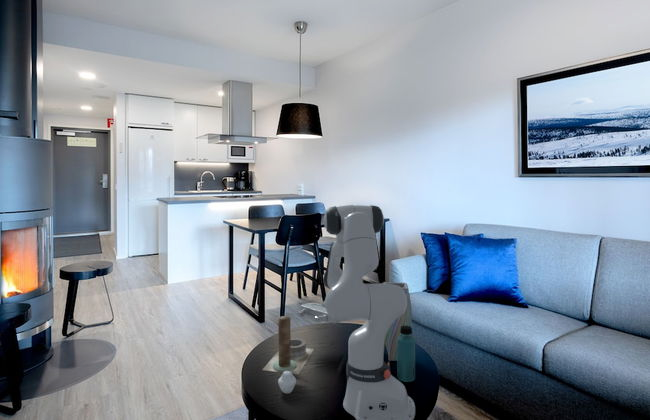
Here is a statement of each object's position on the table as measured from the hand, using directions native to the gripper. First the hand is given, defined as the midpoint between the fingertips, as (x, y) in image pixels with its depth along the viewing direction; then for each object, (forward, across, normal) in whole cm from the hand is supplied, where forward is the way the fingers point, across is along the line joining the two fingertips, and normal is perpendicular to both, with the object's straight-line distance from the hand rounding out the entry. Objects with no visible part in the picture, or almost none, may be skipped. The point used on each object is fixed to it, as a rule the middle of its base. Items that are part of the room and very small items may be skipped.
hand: (307, 316), depth 151 cm
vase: (-26, +24, +18) cm, 39 cm away
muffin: (+21, +12, +18) cm, 30 cm away
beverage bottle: (-12, +37, +18) cm, 43 cm away
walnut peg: (+12, -1, +16) cm, 20 cm away
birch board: (+6, -4, +18) cm, 19 cm away
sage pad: (+12, -1, +16) cm, 20 cm away
